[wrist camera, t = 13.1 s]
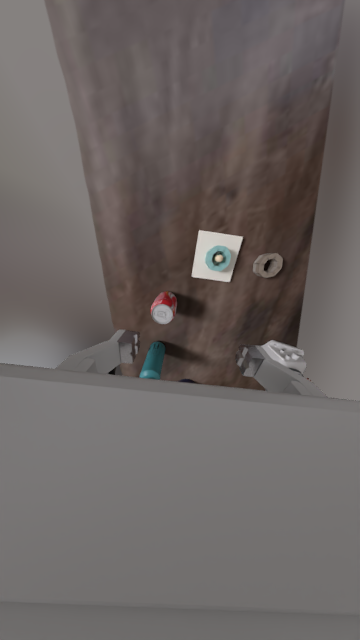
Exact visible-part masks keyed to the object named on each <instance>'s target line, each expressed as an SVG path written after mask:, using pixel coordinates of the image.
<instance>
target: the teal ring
mask: <svg viewBox="0 0 360 640" xmlns="http://www.w3.org/2000/svg"><path fill="white" fill-rule="evenodd" d="M216 252H220V253H221V255H222V256H223V260H222V261H221V263H220V264H218V265H217V266H215V265H214V264H213V263H212V257H213V254H214V253H216ZM230 255H231V254H230V252H229V250H228V248H227V247H226V246H219V245H217V246H214V247H213V248H211V249H210V250H209V251H208V252H207V253H206V258H205V261H206V262H205V263H206V265H207V266H208V268H209V269H210V270H214V271H222V270H223V269H224V268H226V267H227V266H228V265H229V262H230V258H231V256H230Z"/></svg>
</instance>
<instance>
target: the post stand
mask: <svg viewBox="0 0 360 640" xmlns="http://www.w3.org/2000/svg"><path fill="white" fill-rule="evenodd" d="M242 239H243V237H240V236H234V235H227V234H220V233H214V232H207V231H201V230H199V233H198V240H197V246H196V252H195V258H194V264H193V270H192V277H196V278H204V279H211V280H218V281H225V282H230V279H231V276H232V273H233V269H234V266H235V263H236V259H237V256H238V252H239V249H240V246H241V242H242ZM217 245H219V246H226V247H227V248H228V250H229V252H230V254H231V255H230V256H231V258H230V262H229V265H228V266H227V267H226V268H224V269H223V270H222V271H214V270H210V269H209V268H208V266H207V265H206V263H205V262H206V261H205V258H206V253H207V252H208V251H209V250H210V249H211V248H213V247H214V246H217ZM222 260H223V256H222V255H221V253H220V252H216V253H214V254H213V257H212V263H213V264H214V265H215V266H217V265H218V264H220V263H221V261H222Z"/></svg>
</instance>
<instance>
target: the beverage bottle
mask: <svg viewBox="0 0 360 640" xmlns="http://www.w3.org/2000/svg"><path fill="white" fill-rule="evenodd" d="M164 353H165V346H164V344H162V343H161V342H154V343H152V344H151V346H150V348H149V350H148V354H147V355H146V360H145V362H144V365H143V368H142V371H141V373H140V378H147V379H156V380H160V374H161V368H162V363H163V359H164V355H165V354H164Z"/></svg>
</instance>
